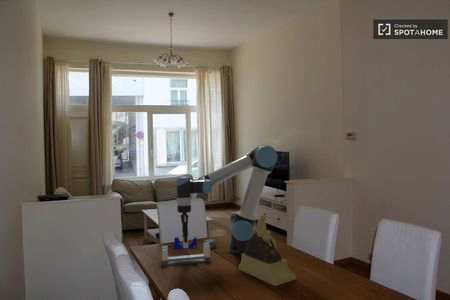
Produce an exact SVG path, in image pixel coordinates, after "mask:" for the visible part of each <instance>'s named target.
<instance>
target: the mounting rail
mask: <svg viewBox="0 0 450 300" xmlns="http://www.w3.org/2000/svg"><path fill="white" fill-rule="evenodd" d="M210 262H212V260H211V256H210V257H205V256H204V253H196V254H195V253H194V254H185V255H183V254H182V255H174V256H173V255H172V256H168V260H165V261H162V267H163V266H177V265H178V266H179V265H188V264H199V263H200V264H201V263H210Z"/></svg>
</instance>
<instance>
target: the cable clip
mask: <svg viewBox="0 0 450 300" xmlns="http://www.w3.org/2000/svg"><path fill="white" fill-rule="evenodd" d="M197 248H198V236H193V239H192V242H190V243H188V248H183V242H182V241H181V240H180V237H179V235H178V236H175V237H174V243H173V249H174V250H196V249H197Z"/></svg>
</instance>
